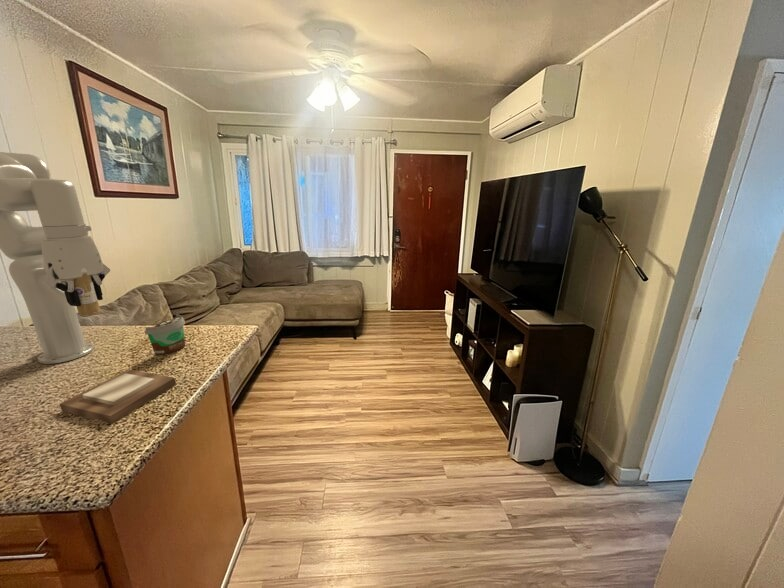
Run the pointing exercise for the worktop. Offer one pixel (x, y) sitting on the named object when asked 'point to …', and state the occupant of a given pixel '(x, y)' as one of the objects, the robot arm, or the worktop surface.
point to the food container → (167, 336)
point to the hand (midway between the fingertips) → (86, 301)
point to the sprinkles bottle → (86, 295)
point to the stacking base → (118, 395)
